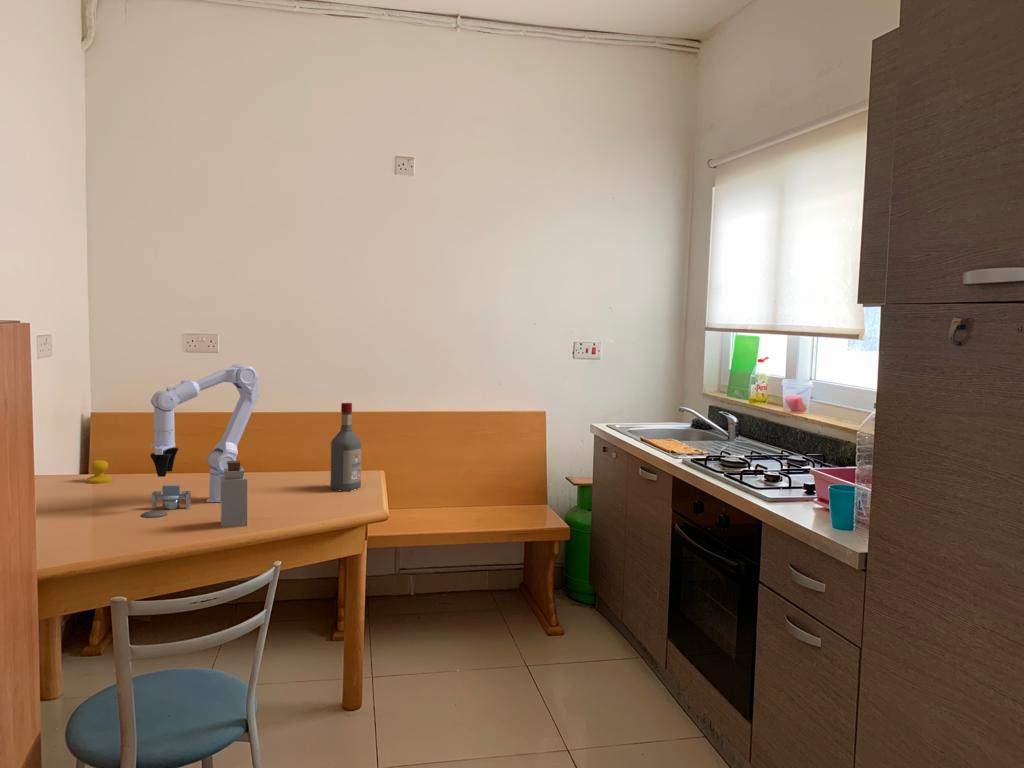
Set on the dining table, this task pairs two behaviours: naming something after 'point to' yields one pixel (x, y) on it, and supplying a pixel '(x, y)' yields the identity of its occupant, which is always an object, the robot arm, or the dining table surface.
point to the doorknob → (99, 472)
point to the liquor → (345, 455)
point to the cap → (171, 493)
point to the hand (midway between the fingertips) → (164, 473)
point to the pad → (154, 514)
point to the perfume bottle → (233, 496)
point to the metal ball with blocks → (171, 501)
